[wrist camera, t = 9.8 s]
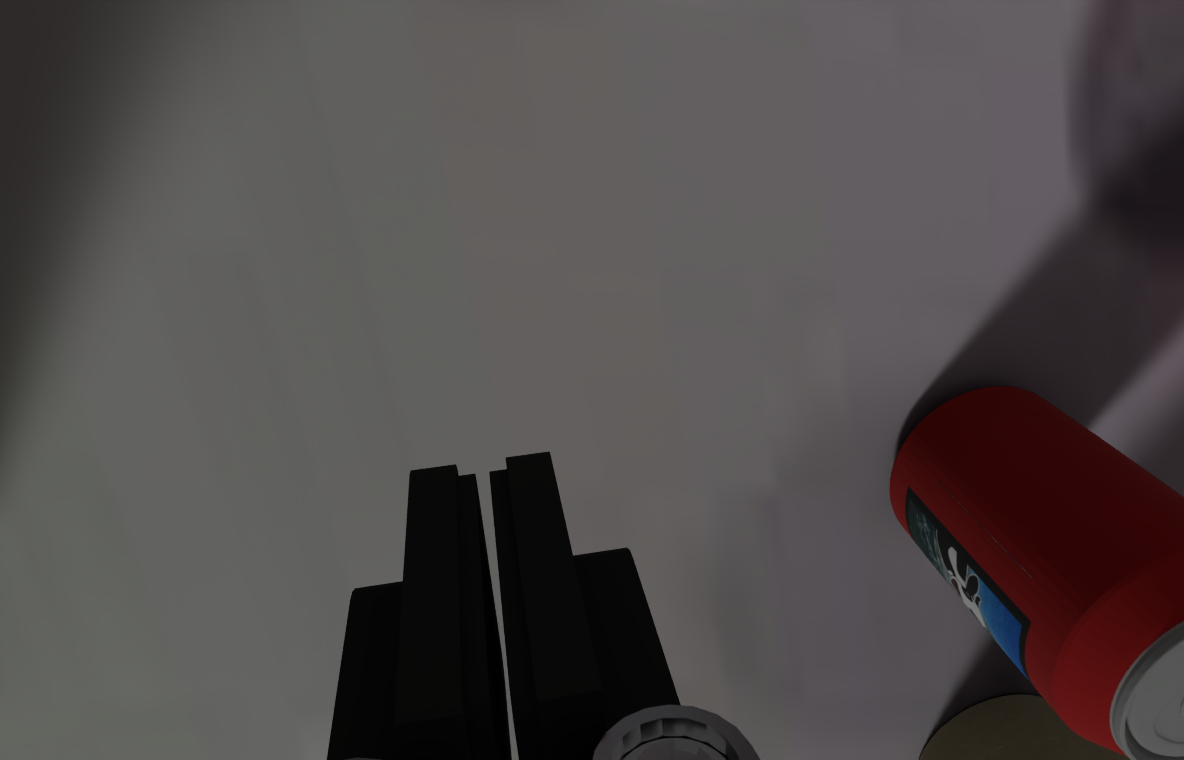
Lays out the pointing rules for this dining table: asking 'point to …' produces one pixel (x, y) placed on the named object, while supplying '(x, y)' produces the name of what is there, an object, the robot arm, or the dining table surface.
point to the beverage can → (1057, 559)
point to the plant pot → (1012, 734)
